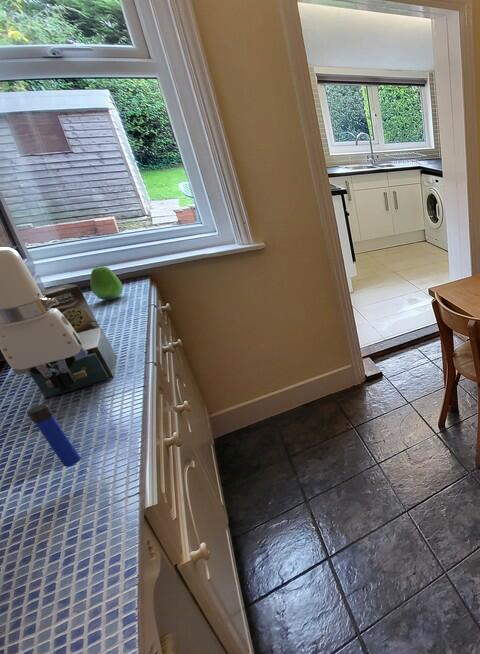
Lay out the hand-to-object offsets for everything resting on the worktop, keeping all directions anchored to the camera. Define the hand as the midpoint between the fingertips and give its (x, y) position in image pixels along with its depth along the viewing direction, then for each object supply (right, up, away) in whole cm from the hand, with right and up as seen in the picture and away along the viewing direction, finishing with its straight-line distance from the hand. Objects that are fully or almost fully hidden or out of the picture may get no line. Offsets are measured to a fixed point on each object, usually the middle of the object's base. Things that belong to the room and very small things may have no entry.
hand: (67, 387), depth 88 cm
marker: (+17, -10, -14) cm, 24 cm away
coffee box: (-26, +7, +28) cm, 39 cm away
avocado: (-46, +20, +58) cm, 77 cm away
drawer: (-6, 0, +8) cm, 10 cm away
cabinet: (-9, +1, +12) cm, 15 cm away
